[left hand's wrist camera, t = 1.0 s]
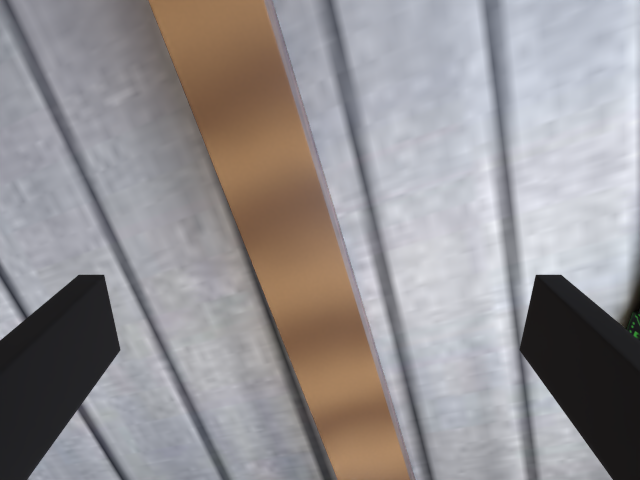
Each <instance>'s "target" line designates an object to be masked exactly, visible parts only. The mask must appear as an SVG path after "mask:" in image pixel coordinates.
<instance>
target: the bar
mask: <svg viewBox="0 0 640 480" xmlns="http://www.w3.org/2000/svg"><path fill="white" fill-rule="evenodd" d="M148 1H149V3H150V6H151V8H152V11H153V13H154V16H155V18H156V21H157V24H158V26H159V29H160V31H161V34H162V36H163V39H164V41H165V44H166V46H167V49H168V51H169V54H170V56H171V59H172V62H173V64H174V67H175V69H176V72H177V74H178V77H179V79H180V82H181V84H182V87H183V89H184V92H185V94H186V97H187V100H188V102H189V105H190V107H191V110H192V112H193V115H194V117H195V120H196V122H197V125H198V127H199V130H200V132H201V135H202V138H203V140H204V143H205V145H206V148H207V150H208V153H209V155H210V158H211V160H212V163H213V165H214V168H215V170H216V173H217V176H218V178H219V181H220V183H221V186H222V188H223V191H224V193H225V196H226V198H227V201H228V203H229V206H230V208H231V211H232V214H233V216H234V219H235V221H236V224H237V226H238V229H239V231H240V234H241V236H242V239H243V241H244V244H245V246H246V249H247V252H248V254H249V257H250V259H251V262H252V264H253V267H254V269H255V272H256V274H257V277H258V279H259V282H260V284H261V287H262V290H263V292H264V295H265V297H266V300H267V302H268V305H269V307H270V310H271V312H272V315H273V317H274V320H275V322H276V325H277V328H278V330H279V333H280V335H281V338H282V340H283V343H284V345H285V348H286V350H287V353H288V355H289V358H290V360H291V363H292V366H293V368H294V371H295V373H296V376H297V378H298V381H299V383H300V386H301V388H302V391H303V393H304V396H305V398H306V401H307V404H308V406H309V409H310V411H311V414H312V416H313V419H314V421H315V424H316V426H317V429H318V431H319V434H320V436H321V439H322V442H323V444H324V447H325V449H326V452H327V454H328V457H329V459H330V462H331V464H332V467H333V469H334V472H335V474H336V477H337V480H415V477H414V473H413V470H412V467H411V463H410V460H409V457H408V453H407V450H406V447H405V443H404V440H403V437H402V433H401V430H400V427H399V423H398V420H397V417H396V413H395V410H394V407H393V403H392V400H391V396H390V393H389V390H388V386H387V383H386V380H385V376H384V373H383V370H382V366H381V363H380V360H379V356H378V353H377V350H376V346H375V343H374V340H373V336H372V333H371V330H370V326H369V323H368V319H367V316H366V313H365V309H364V306H363V303H362V299H361V296H360V293H359V289H358V286H357V283H356V279H355V276H354V273H353V269H352V266H351V263H350V259H349V256H348V252H347V249H346V246H345V242H344V239H343V236H342V232H341V229H340V226H339V222H338V219H337V216H336V212H335V209H334V206H333V202H332V199H331V196H330V192H329V189H328V186H327V182H326V179H325V175H324V172H323V169H322V165H321V162H320V159H319V155H318V152H317V149H316V145H315V142H314V139H313V135H312V132H311V129H310V125H309V122H308V119H307V115H306V112H305V109H304V105H303V102H302V98H301V95H300V92H299V88H298V85H297V82H296V78H295V75H294V72H293V68H292V65H291V62H290V58H289V55H288V52H287V48H286V45H285V42H284V38H283V35H282V32H281V28H280V25H279V21H278V18H277V15H276V11H275V8H274V5H273V1H272V0H148Z"/></svg>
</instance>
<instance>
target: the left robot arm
mask: <svg viewBox="0 0 640 480" xmlns="http://www.w3.org/2000/svg"><path fill="white" fill-rule="evenodd" d="M119 351H120V346H119V341H118V337H117V332H116V328H115V323H114V318H113V314H112V309H111V304H110V300H109V295H108V291H107V286H106V281H105V277H104V275H78V276H77V277H76V278H75V279H73V280H72V281H71V282H70V283H69V284H67V285H66V286H65V287H64V288H63V289H61V290H60V291H59V292H58V293H57V294H55V295H54V296H53V297H52V298H51V299H49V300H48V301H47V302H46V303H45V304H43V305H42V306H41V307H40V308H39V309H37V310H36V311H35V312H34V313H33V314H32V315H30V316H29V317H28V318H27V319H26V320H24V321H23V322H22V323H21V324H20V325H18V326H17V327H16V328H15V329H14V330H12V331H11V332H10V333H9V334H8V335H6V336H5V337H4V338H3V339H2V340H0V480H27V479H28V478H29V476H30V475H31V473H32V472H33V471H34V469H35V468H36V466H37V465H38V464H39V462H40V461H41V459H42V458H43V457H44V455H45V454H46V453H47V451H48V450H49V448H50V447H51V446H52V444H53V443H54V441H55V440H56V439H57V437H58V436H59V435H60V433H61V432H62V430H63V429H64V428H65V426H66V425H67V423H68V422H69V421H70V419H71V418H72V416H73V415H74V414H75V412H76V411H77V410H78V408H79V407H80V405H81V404H82V403H83V401H84V400H85V398H86V397H87V396H88V394H89V393H90V392H91V390H92V389H93V387H94V386H95V385H96V383H97V382H98V380H99V379H100V378H101V376H102V375H103V373H104V372H105V371H106V369H107V368H108V367H109V365H110V364H111V362H112V361H113V360H114V358H115V357H116V355H117V354H118V353H119ZM520 351H521V353H522V354H523V355H524V357H525V358H526V360H527V361H528V362H529V364H530V365H531V367H532V368H533V369H534V371H535V372H536V373H537V375H538V376H539V378H540V379H541V380H542V382H543V383H544V385H545V386H546V387H547V389H548V390H549V392H550V393H551V394H552V396H553V397H554V398H555V400H556V401H557V403H558V404H559V405H560V407H561V408H562V410H563V411H564V412H565V414H566V415H567V416H568V418H569V419H570V421H571V422H572V423H573V425H574V426H575V428H576V429H577V430H578V432H579V433H580V435H581V436H582V437H583V439H584V440H585V441H586V443H587V444H588V446H589V447H590V448H591V450H592V451H593V453H594V454H595V455H596V457H597V458H598V459H599V461H600V462H601V464H602V465H603V466H604V468H605V469H606V471H607V472H608V473H609V475H610V476H611V478H612V479H613V480H640V340H638V339H637V338H636V337H635V336H634V335H632V334H631V333H630V332H629V331H628V330H626V329H625V328H624V327H623V326H622V325H620V324H619V323H618V322H617V321H616V320H614V319H613V318H612V317H611V316H610V315H608V314H607V313H606V312H605V311H604V310H602V309H601V308H600V307H599V306H598V305H597V304H595V303H594V302H593V301H592V300H591V299H589V298H588V297H587V296H586V295H585V294H583V293H582V292H581V291H580V290H579V289H577V288H576V287H575V286H574V285H573V284H571V283H570V282H569V281H568V280H567V279H565V278H564V277H563V276H562V275H536V277H535V281H534V286H533V291H532V295H531V300H530V304H529V309H528V314H527V318H526V323H525V328H524V332H523V337H522V341H521V346H520Z"/></svg>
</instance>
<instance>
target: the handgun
mask: <svg viewBox="0 0 640 480" xmlns="http://www.w3.org/2000/svg"><path fill="white" fill-rule="evenodd" d="M627 330H628V331H629V332H630V333H631V334H632V335H634V336H635V337H636V338H637V339H638V340H640V309H639V312H633V313H632V316H631V318H630V321H629V324H628V327H627Z"/></svg>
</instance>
